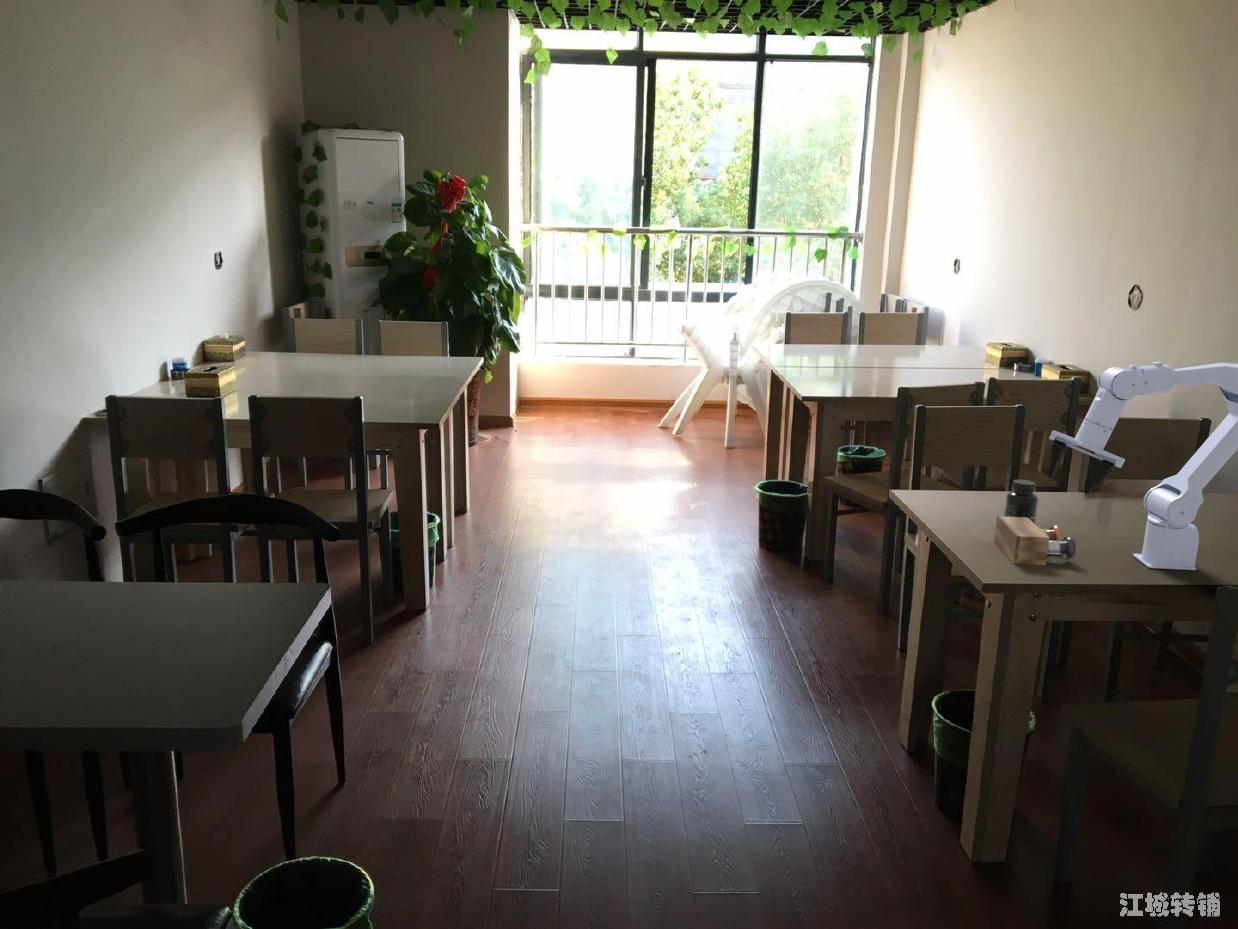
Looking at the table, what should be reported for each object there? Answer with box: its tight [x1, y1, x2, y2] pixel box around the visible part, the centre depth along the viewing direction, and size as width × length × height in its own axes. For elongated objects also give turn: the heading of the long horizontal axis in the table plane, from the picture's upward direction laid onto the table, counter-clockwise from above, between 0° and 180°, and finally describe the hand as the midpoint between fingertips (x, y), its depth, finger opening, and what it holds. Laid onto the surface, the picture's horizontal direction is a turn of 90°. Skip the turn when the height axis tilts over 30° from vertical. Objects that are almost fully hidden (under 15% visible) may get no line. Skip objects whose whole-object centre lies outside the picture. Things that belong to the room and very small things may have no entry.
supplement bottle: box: [1003, 479, 1039, 525], centre depth 224 cm, size 7×7×12 cm
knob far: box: [1040, 525, 1063, 541], centre depth 214 cm, size 7×5×5 cm
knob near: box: [1047, 536, 1077, 560], centre depth 206 cm, size 7×5×5 cm
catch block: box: [993, 515, 1049, 566], centre depth 210 cm, size 6×14×6 cm, turn 175°
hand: (1068, 485), depth 203 cm, fingers open, 7 cm apart
